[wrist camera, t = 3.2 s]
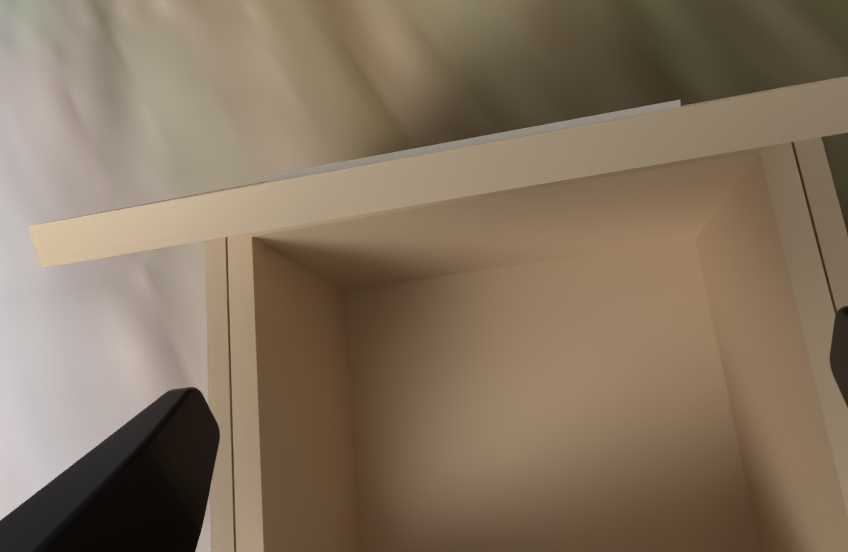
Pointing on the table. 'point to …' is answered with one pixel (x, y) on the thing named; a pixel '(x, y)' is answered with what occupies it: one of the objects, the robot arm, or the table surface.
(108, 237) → the carton flap
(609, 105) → the table surface
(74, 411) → the table surface
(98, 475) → the robot arm
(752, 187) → the carton
